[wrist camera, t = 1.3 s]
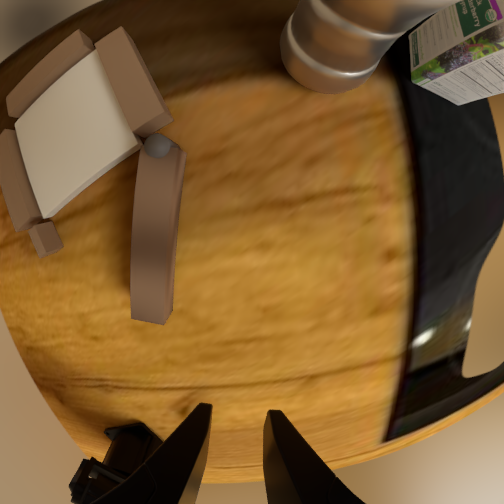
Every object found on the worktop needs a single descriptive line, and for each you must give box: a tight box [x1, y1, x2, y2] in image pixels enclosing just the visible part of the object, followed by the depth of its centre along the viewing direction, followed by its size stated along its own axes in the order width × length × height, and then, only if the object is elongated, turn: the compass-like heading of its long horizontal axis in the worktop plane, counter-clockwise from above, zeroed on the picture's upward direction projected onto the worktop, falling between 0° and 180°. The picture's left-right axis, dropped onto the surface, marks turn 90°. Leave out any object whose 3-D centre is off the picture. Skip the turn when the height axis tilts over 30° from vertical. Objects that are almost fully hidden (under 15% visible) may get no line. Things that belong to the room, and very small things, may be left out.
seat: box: [0, 26, 174, 258], centre depth 15 cm, size 15×15×2 cm
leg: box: [130, 133, 187, 325], centre depth 17 cm, size 12×2×3 cm, turn 172°
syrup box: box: [409, 0, 504, 105], centre depth 9 cm, size 6×6×14 cm
